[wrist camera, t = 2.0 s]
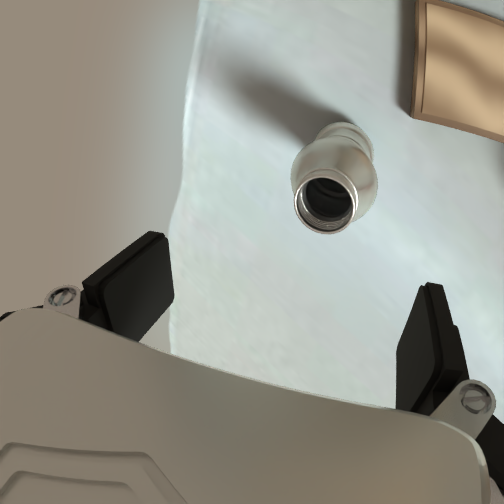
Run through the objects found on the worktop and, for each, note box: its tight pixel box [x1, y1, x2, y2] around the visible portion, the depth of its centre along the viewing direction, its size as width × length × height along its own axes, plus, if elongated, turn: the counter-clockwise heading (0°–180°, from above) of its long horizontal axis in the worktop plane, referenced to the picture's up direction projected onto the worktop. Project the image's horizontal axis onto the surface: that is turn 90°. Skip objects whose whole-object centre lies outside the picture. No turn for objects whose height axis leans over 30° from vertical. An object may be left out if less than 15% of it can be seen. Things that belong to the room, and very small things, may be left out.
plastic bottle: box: [291, 122, 378, 234], centre depth 27 cm, size 6×7×20 cm
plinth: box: [410, 0, 504, 143], centre depth 24 cm, size 14×14×3 cm
